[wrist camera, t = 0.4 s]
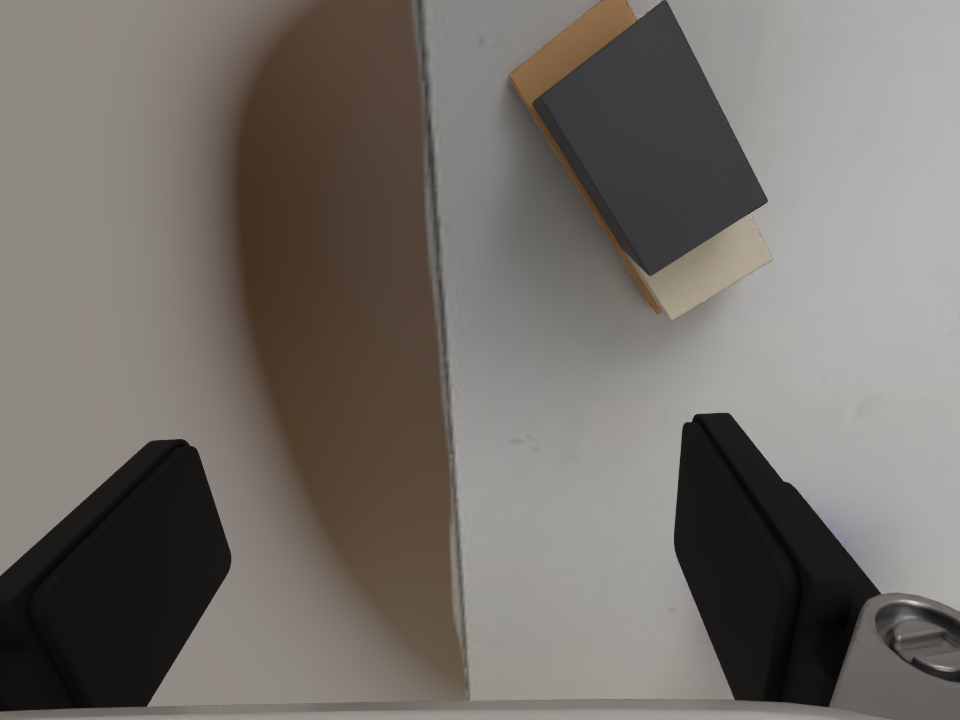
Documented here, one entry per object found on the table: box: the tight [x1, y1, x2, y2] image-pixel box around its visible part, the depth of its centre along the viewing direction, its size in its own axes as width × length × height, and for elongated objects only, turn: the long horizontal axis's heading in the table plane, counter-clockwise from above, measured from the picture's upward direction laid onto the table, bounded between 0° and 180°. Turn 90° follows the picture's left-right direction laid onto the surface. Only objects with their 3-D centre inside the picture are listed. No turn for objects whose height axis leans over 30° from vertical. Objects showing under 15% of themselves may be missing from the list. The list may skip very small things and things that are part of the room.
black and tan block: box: [508, 0, 773, 321], centre depth 20 cm, size 12×5×6 cm, turn 36°
